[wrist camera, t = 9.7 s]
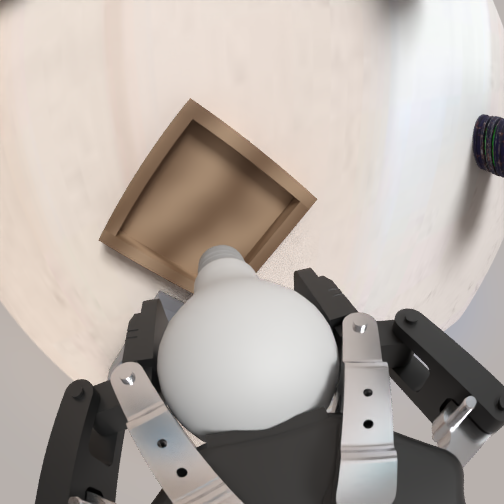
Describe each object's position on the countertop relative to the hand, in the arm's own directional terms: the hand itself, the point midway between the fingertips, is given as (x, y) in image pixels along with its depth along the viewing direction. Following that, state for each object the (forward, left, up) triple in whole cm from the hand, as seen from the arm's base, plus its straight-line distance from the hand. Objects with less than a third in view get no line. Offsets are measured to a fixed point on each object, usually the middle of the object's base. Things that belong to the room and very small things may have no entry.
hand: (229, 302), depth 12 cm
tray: (0, 0, -14) cm, 14 cm away
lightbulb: (0, 0, -4) cm, 4 cm away
